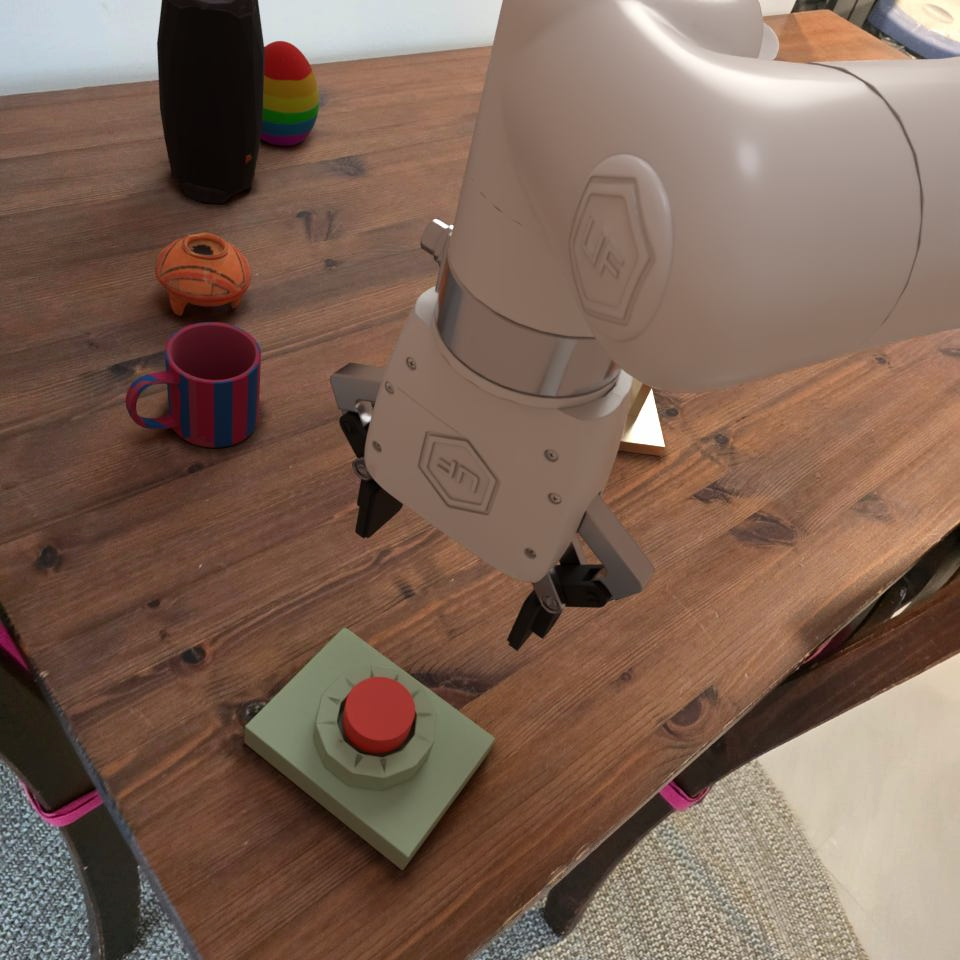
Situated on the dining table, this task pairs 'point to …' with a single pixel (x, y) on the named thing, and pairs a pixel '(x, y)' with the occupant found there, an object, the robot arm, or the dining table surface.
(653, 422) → the switch bracket
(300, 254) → the dining table surface
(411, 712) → the button
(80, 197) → the dining table surface
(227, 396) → the cup
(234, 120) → the portable speaker
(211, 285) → the pot
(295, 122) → the decorative egg
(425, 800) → the switch box
